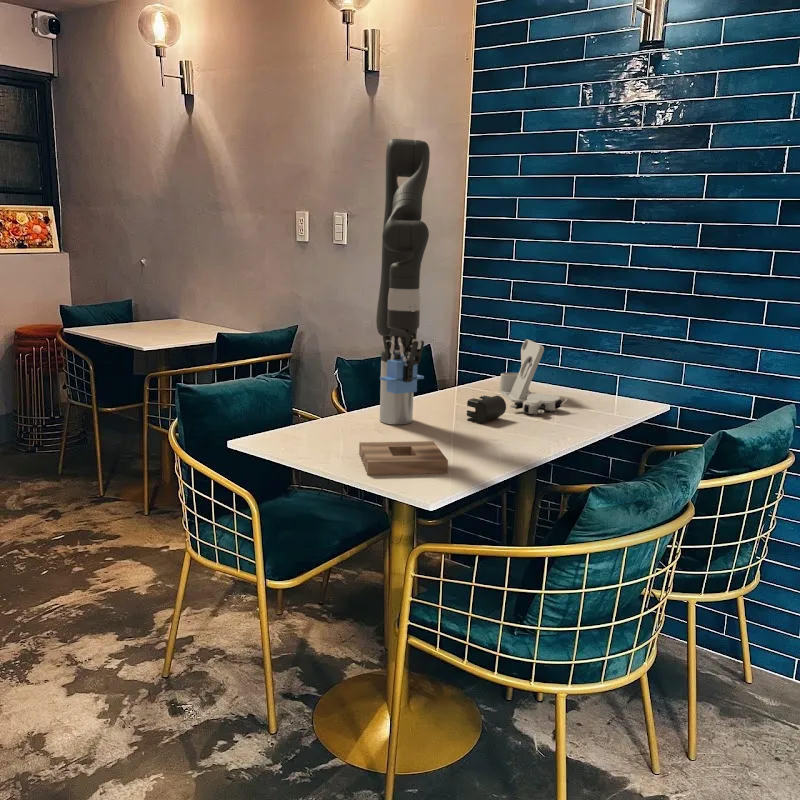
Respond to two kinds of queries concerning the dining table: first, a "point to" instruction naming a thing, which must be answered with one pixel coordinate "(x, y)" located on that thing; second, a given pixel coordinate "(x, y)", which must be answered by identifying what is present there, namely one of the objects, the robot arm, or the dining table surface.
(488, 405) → the end cap
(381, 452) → the board
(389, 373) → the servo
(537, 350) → the phone holder
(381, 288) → the robot arm
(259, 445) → the dining table surface
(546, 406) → the robot toy
